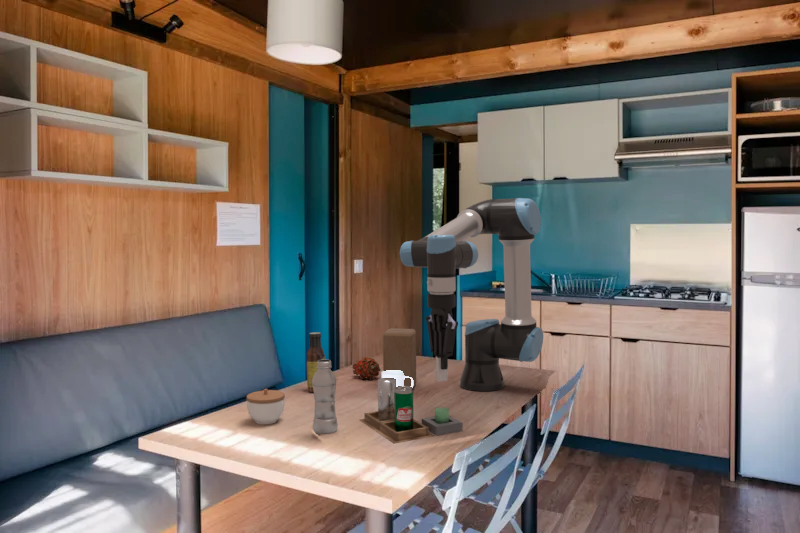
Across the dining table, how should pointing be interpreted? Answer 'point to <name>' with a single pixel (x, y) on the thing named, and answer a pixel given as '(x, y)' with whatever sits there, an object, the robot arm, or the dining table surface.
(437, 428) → the grey square holder
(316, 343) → the sauce bottle
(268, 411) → the lidded jar
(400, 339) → the block
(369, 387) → the dining table surface
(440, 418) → the button
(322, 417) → the plastic bottle
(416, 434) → the tray
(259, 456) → the dining table surface
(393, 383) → the seated cylinder
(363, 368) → the reddish brown bumpy oval
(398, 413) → the soda can
